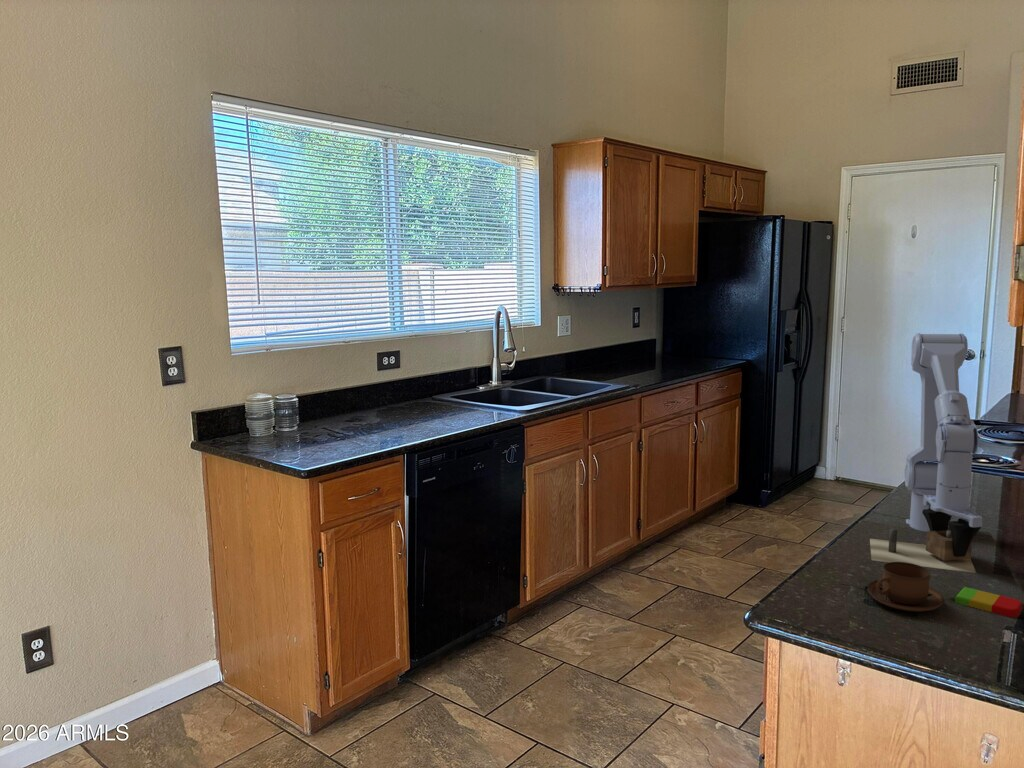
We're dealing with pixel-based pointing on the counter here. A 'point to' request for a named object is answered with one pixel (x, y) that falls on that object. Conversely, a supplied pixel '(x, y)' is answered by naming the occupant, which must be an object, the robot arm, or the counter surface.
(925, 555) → the fitting board
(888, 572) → the cup and saucer
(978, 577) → the counter surface
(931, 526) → the robot arm
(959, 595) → the popsicle
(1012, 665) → the counter surface
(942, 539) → the collar
